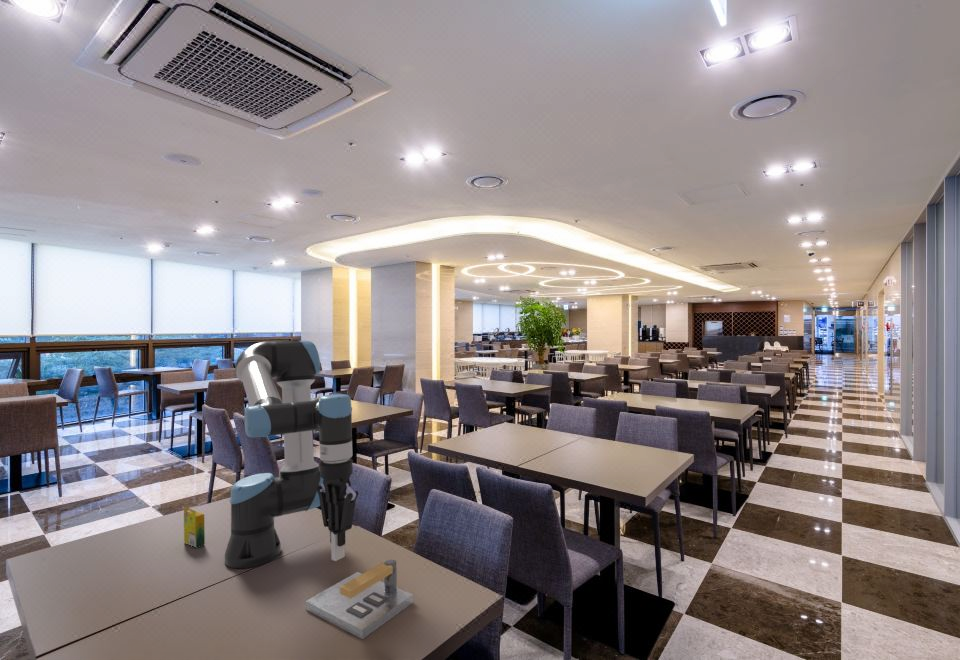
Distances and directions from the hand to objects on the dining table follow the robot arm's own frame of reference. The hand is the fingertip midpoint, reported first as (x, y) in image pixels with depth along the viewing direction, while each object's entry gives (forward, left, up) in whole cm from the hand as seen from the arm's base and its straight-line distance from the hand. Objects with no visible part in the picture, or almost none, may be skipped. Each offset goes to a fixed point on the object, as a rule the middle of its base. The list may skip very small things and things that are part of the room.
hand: (338, 558), depth 110 cm
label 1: (+7, 0, -10) cm, 13 cm away
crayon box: (-68, -2, -13) cm, 69 cm away
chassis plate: (+3, +4, -12) cm, 13 cm away
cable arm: (+7, +4, -5) cm, 10 cm away
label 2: (+7, +5, -10) cm, 14 cm away
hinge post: (+7, +10, -12) cm, 17 cm away
